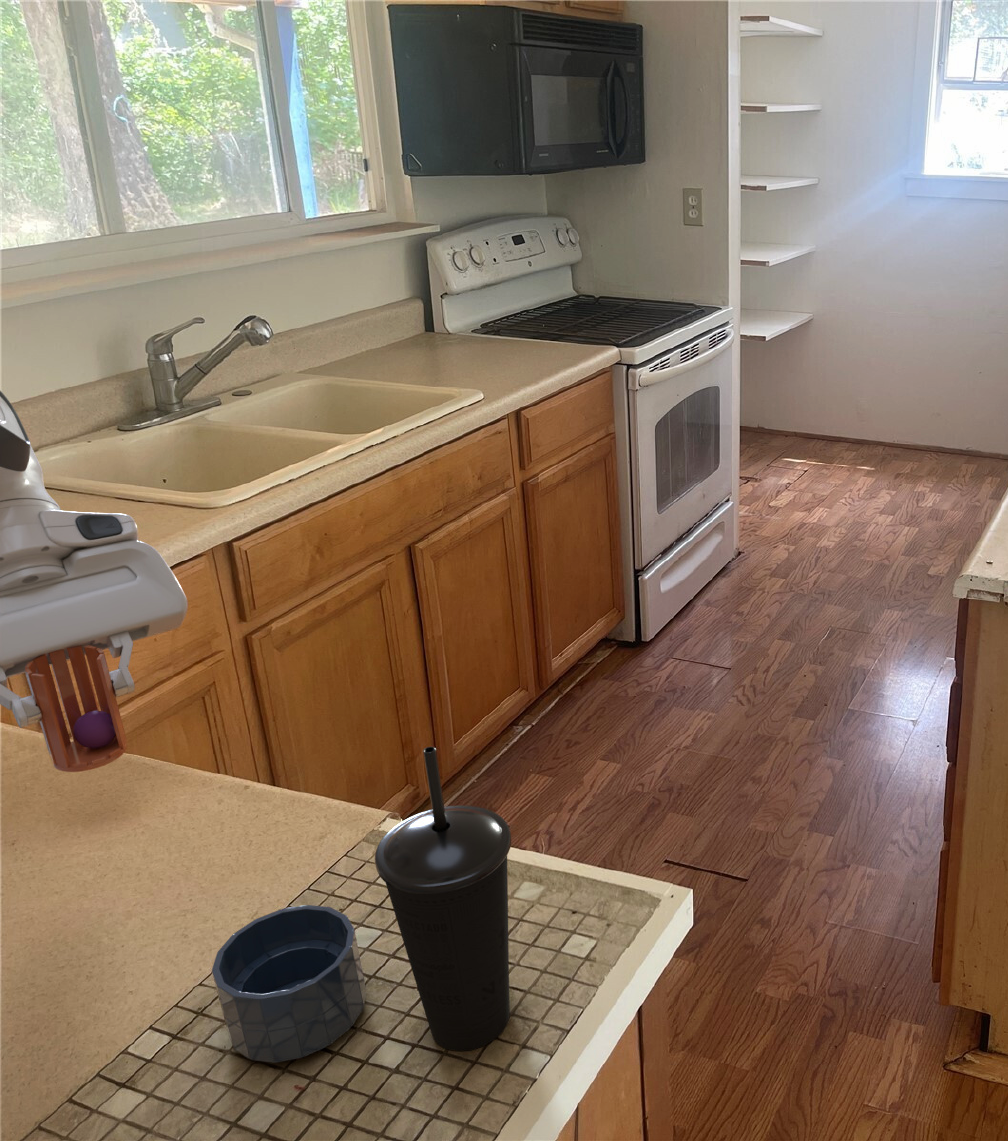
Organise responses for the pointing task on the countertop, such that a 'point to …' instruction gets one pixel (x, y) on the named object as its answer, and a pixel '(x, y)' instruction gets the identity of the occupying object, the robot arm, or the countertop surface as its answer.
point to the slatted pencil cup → (74, 706)
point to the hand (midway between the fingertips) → (80, 707)
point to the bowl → (290, 983)
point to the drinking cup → (453, 913)
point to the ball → (94, 729)
